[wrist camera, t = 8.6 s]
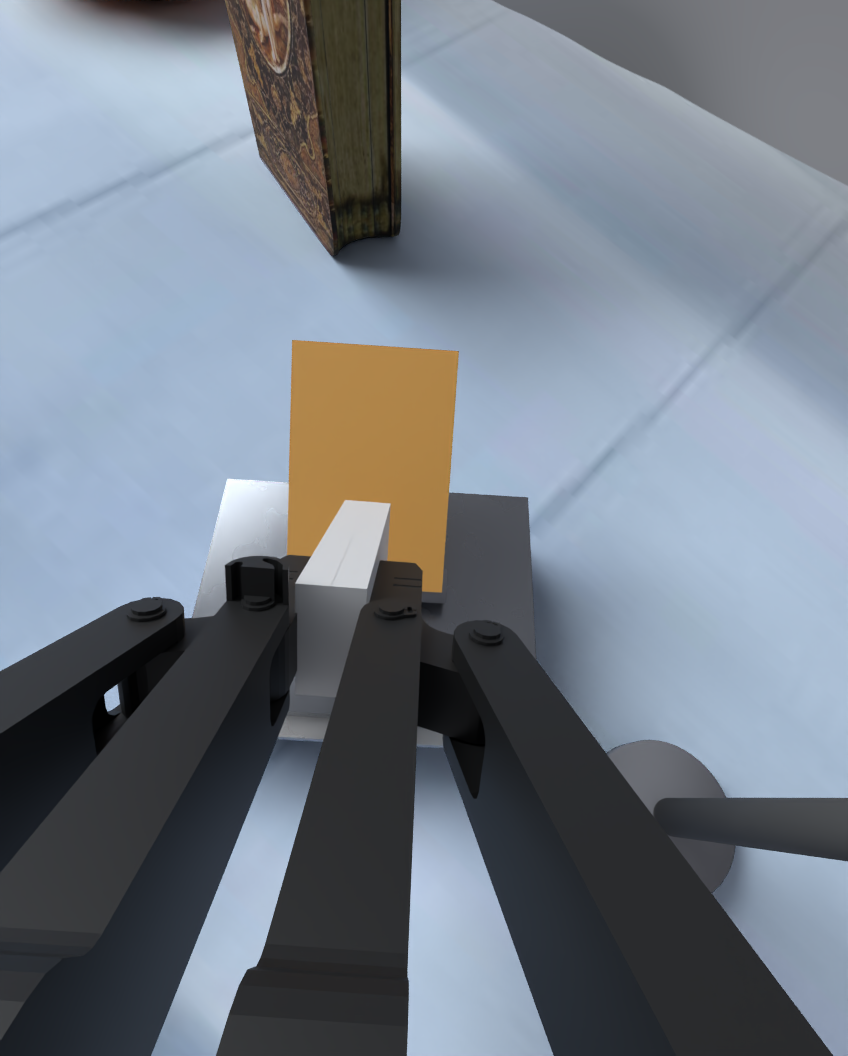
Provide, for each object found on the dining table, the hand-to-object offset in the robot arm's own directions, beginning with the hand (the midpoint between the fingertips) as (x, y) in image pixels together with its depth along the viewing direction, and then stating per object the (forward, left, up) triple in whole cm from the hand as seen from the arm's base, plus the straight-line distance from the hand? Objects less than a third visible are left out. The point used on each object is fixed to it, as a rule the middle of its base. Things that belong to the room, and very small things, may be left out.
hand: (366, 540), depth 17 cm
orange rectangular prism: (0, 0, -4) cm, 4 cm away
